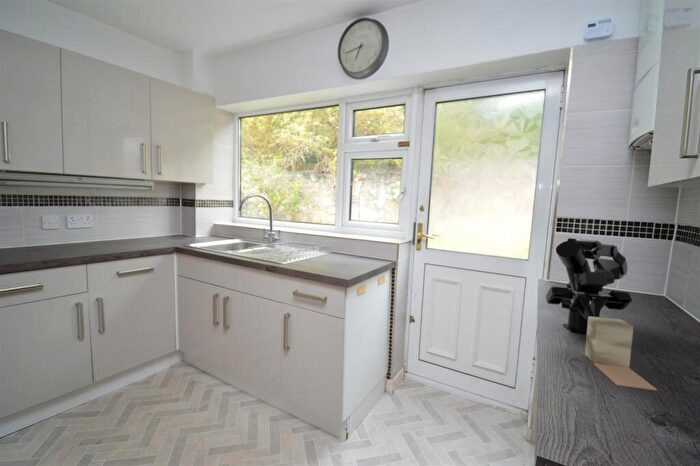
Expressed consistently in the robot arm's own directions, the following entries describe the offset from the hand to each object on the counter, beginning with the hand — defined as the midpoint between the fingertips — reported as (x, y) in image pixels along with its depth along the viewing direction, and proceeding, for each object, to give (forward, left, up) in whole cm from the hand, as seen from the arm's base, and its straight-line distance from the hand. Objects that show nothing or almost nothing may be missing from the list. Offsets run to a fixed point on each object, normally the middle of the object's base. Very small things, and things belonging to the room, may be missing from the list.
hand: (595, 326), depth 83 cm
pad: (+13, 0, -7) cm, 15 cm away
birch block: (+5, 0, -7) cm, 9 cm away
